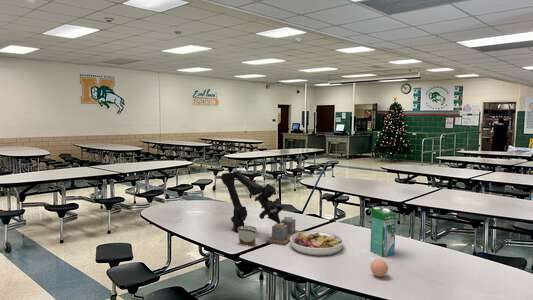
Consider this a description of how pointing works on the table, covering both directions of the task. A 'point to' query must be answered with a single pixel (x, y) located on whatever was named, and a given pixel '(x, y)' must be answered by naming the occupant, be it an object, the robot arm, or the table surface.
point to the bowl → (316, 242)
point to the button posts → (283, 230)
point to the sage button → (287, 218)
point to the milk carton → (382, 231)
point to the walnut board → (282, 241)
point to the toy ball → (379, 268)
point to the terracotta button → (279, 224)
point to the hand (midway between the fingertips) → (279, 223)
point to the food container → (247, 235)
